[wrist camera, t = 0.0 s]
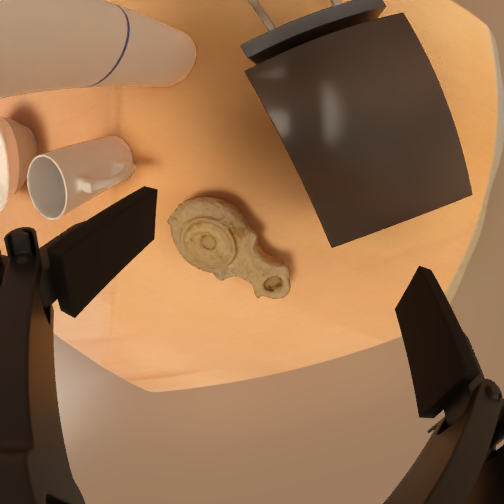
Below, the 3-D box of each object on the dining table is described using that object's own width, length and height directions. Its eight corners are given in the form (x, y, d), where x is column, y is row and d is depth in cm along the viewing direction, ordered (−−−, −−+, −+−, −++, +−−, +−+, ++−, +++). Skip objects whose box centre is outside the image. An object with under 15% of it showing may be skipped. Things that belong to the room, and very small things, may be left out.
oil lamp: (290, 284, 36) (285, 310, 31) (181, 263, 37) (164, 284, 33) (305, 203, 30) (304, 220, 26) (180, 184, 32) (160, 197, 28)
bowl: (-4, 139, 34) (-38, 151, 27) (31, 85, 29) (-11, 92, 21) (23, 208, 40) (-10, 228, 33) (62, 166, 34) (19, 184, 27)
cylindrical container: (197, 82, 26) (-36, 85, 5) (140, 92, 28) (-71, 130, 6) (195, 24, 23) (-10, -47, 1) (139, 38, 24) (-63, 25, 3)
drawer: (219, -1, 21) (189, -28, 14) (317, -41, 16) (316, -79, 9) (320, 179, 28) (322, 204, 21) (420, 141, 24) (453, 155, 17)
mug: (95, 181, 34) (31, 215, 24) (94, 133, 31) (24, 154, 21) (157, 190, 33) (95, 230, 23) (159, 135, 30) (89, 155, 20)
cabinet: (265, 82, 25) (243, 71, 17) (377, 39, 20) (403, 12, 12) (327, 207, 30) (331, 248, 22) (431, 168, 25) (472, 195, 17)
